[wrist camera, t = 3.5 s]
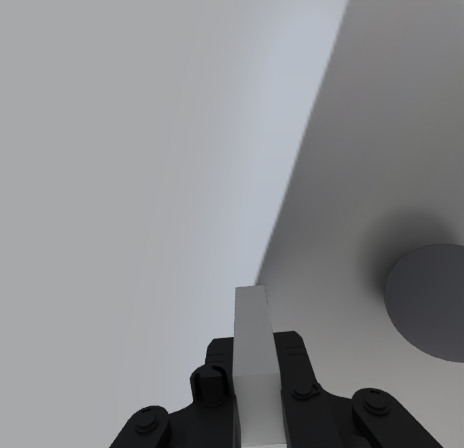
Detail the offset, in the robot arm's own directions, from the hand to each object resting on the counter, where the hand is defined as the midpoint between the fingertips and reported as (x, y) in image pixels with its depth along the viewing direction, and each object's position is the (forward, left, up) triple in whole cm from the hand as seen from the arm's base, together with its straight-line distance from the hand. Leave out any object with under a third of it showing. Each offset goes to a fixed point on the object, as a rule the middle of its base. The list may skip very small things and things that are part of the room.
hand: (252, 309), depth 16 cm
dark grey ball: (-2, -9, +1) cm, 10 cm away
